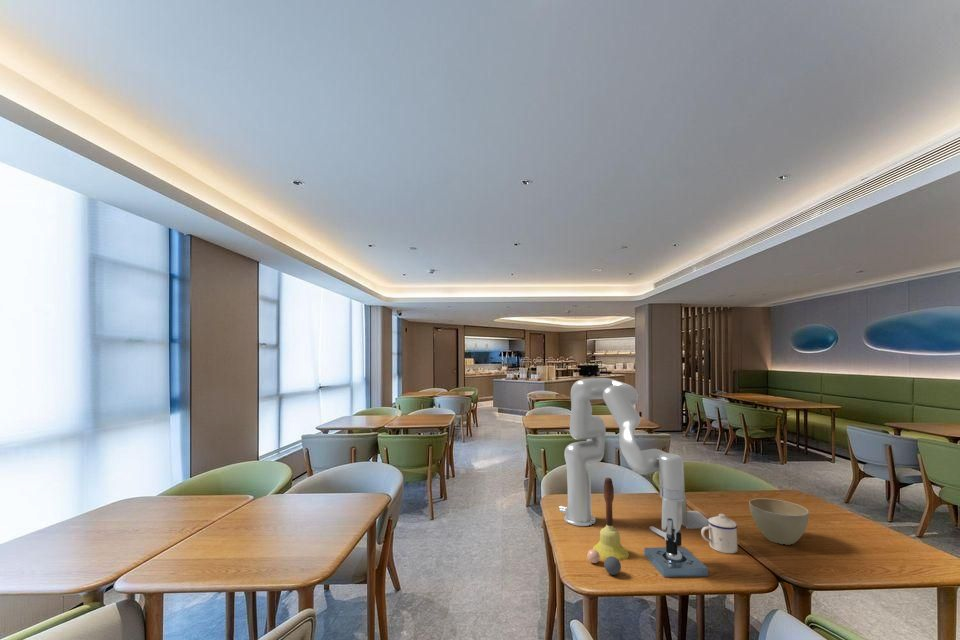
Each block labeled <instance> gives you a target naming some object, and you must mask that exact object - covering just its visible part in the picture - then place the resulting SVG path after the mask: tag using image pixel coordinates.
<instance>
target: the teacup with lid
mask: <svg viewBox="0 0 960 640" xmlns="http://www.w3.org/2000/svg"><path fill="white" fill-rule="evenodd" d="M707 519H708V523H709V526H706V527H703V528H702V529H700V531H701V532H700V534H701V536H702V539H704V541H707V542H709V546H710V548H711V549H713V550H714V551H717V552H720V553H723V554H736V553H737V552H738V532H737V528H738V524H737V522H736V521H734V520H732V519H731V518H729V517H727V516H726V515H725V514H724V513H719V514H718V515H716V516H711V517H710V516H709V518H707ZM707 530H708V538H707V537H706V536H705V531H707Z"/></svg>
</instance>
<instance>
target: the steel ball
mask: <svg viewBox="0 0 960 640" xmlns="http://www.w3.org/2000/svg"><path fill="white" fill-rule="evenodd" d="M677 553H678V554H677V555H674V554H670V553H667V552H666V559H667V560H669V561H672V562H675V563H682V561H683V557H682V554H681V553H680V552H679V551H678V550H677Z"/></svg>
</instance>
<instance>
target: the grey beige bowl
mask: <svg viewBox="0 0 960 640" xmlns="http://www.w3.org/2000/svg"><path fill="white" fill-rule="evenodd" d="M748 504H749V510H750V513H751V515H752V518H753V520H754V523H755V524H756V526H757V528H758V530H759V531H760V532H761V533H762V535H764V537H765V538H766V539H767V540H769V541H770V542H772V543H776V544H778V543H779V545H783V544H785V545H786V546H787V545H791V544H792V545H794V544H795V543H796V542H797V541H799V540H800V539H801V538H802V536H803V535H804V533H805V531H806V529H807V526H808V523H809V518H810V517H809V516H810V515H809V509H807V508H806V507H804V506H802V505H800V504H798V503H795V502H794V503H793V502H790V501H787V500H786V501H785V500H780V499H773V498H763V497H761V498H753V499H751V500H749V501H748Z"/></svg>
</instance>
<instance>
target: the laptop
mask: <svg viewBox="0 0 960 640" xmlns="http://www.w3.org/2000/svg"><path fill="white" fill-rule="evenodd" d="M687 505H688V504H687V495H686V494H685V500H684V501H682V526H683V527H685V528H686V529H688V530H689V529H690V530H691V529H693V530H695V529H696V530H697V529H698V530H702V528H703V527H706V526H709V523H708V519H709V518H707V517H706V516H704V515H703V514H702V513H701V512H699V511H698V510H687V509H688V508H687Z"/></svg>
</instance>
